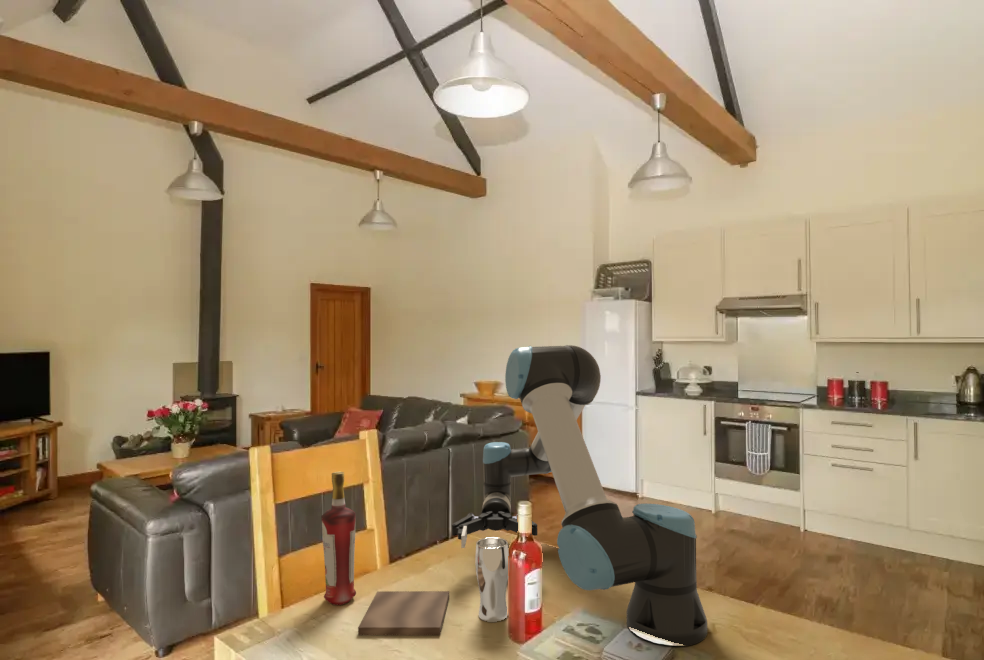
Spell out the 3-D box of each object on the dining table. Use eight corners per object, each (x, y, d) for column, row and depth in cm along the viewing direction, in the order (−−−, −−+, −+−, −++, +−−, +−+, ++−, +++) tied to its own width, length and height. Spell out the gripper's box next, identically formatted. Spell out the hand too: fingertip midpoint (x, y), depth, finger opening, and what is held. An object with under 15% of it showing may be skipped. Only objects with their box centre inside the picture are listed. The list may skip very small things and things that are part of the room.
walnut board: (449, 598, 130) (449, 591, 130) (440, 635, 114) (440, 627, 114) (377, 598, 131) (377, 591, 131) (358, 635, 115) (358, 627, 115)
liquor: (319, 597, 132) (317, 471, 132) (352, 590, 135) (350, 467, 135) (327, 611, 125) (324, 478, 125) (361, 603, 129) (358, 474, 129)
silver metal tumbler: (507, 624, 118) (505, 549, 118) (473, 622, 119) (471, 547, 119) (512, 608, 125) (511, 537, 125) (480, 606, 126) (479, 535, 126)
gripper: (544, 526, 153) (549, 558, 131) (448, 526, 154) (438, 558, 132) (544, 497, 153) (549, 524, 131) (448, 497, 154) (437, 525, 132)
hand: (493, 541), depth 132 cm, fingers open, 13 cm apart
